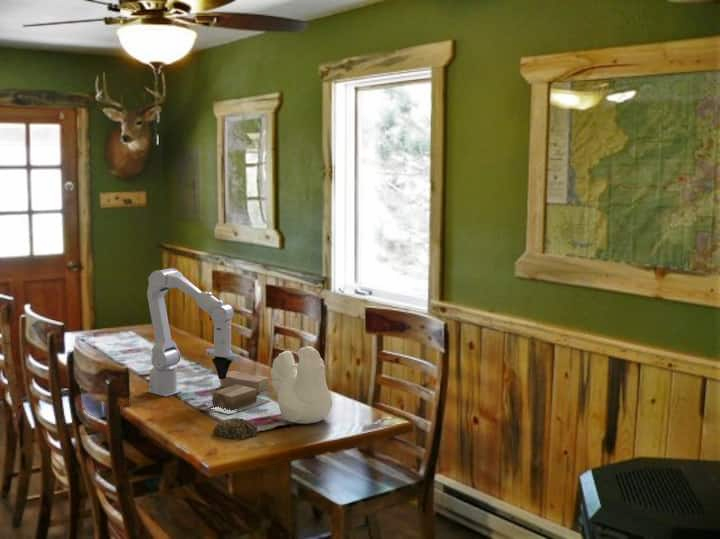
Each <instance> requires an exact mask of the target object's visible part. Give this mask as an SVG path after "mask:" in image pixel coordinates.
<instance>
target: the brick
mask: <svg viewBox="0 0 720 539" xmlns="http://www.w3.org/2000/svg"><path fill="white" fill-rule="evenodd" d="M219 382H220V387H222V388H227V387H231V386H234V385H237V384H238V385H242V386H246V387H250V388H254V389H257V393H261V392H263V391H266V390H268V389H269V388H270V378H269V377H268V376H263V375H257V374H256V375H255V374H254V375H252V374H249V373H244V372H241V371H236V370H231V371H230V370H229V371H227V375H226V378H225V379H219Z"/></svg>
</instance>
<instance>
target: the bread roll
mask: <svg viewBox="0 0 720 539" xmlns="http://www.w3.org/2000/svg"><path fill="white" fill-rule="evenodd" d="M212 433H213V435H214V436H215V437H216V436H217V437H218V438H222V437H223V438H222V439H225V440H226V439H228V440H229V439H230V440H235V439H240V440H241V439H242V440H245V439H246V438H249V437H252V436H254V437H257V436H258V435H259V434H258V426H256V425H255V424H253V423H251V422H250V421H248V420H246V419H244V418H238V417H237V418H234V417H233V418H229V419H223V420H222V421H220V422H218V423H217V425H215V426H214V427H213V430H212Z"/></svg>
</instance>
